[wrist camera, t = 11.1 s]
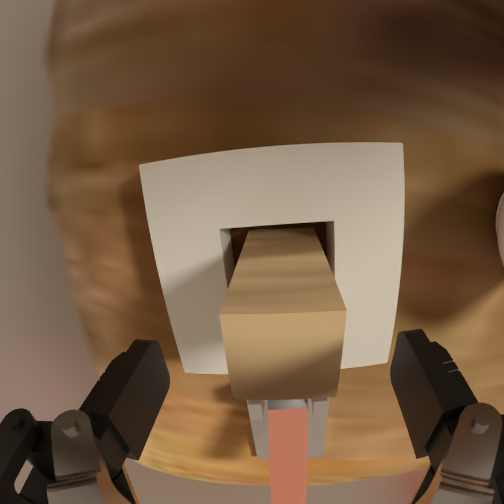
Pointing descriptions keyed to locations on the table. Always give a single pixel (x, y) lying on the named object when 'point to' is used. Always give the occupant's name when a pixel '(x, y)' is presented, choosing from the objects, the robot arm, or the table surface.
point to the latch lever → (288, 450)
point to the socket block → (272, 213)
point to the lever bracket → (315, 426)
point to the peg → (283, 318)
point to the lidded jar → (500, 227)
